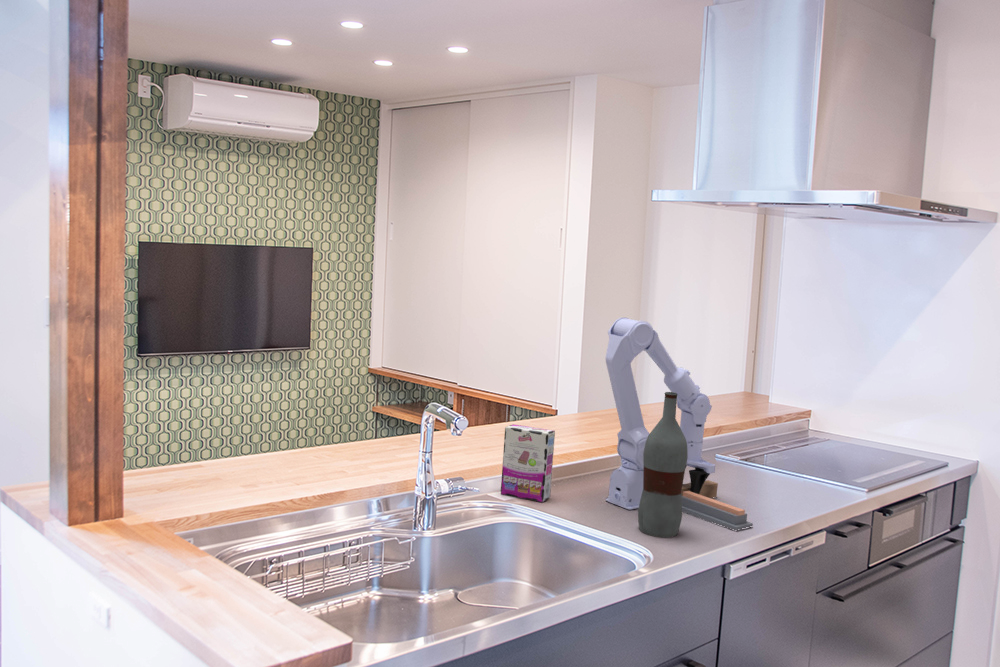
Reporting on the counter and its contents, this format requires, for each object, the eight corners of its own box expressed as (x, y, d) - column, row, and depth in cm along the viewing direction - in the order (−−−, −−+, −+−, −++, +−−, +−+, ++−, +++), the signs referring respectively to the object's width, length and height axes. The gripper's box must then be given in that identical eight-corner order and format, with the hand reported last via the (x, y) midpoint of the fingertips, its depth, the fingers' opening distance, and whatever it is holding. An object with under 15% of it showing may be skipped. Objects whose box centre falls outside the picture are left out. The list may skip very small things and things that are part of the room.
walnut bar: (661, 508, 194) (662, 492, 194) (651, 505, 197) (653, 488, 196) (716, 498, 206) (717, 483, 206) (706, 495, 209) (708, 480, 208)
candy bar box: (550, 498, 195) (556, 430, 194) (543, 503, 191) (548, 433, 189) (508, 489, 200) (513, 423, 198) (499, 494, 195) (504, 426, 194)
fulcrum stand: (735, 531, 180) (737, 513, 180) (672, 508, 194) (674, 491, 194) (752, 527, 184) (754, 510, 183) (689, 505, 198) (690, 488, 197)
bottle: (670, 523, 182) (682, 390, 179) (687, 538, 173) (701, 397, 170) (630, 523, 180) (642, 388, 177) (646, 538, 171) (659, 396, 168)
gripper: (725, 445, 197) (720, 501, 198) (678, 432, 208) (673, 485, 209) (706, 448, 192) (701, 504, 194) (659, 434, 204) (654, 488, 205)
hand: (685, 494), depth 201 cm, fingers open, 5 cm apart
